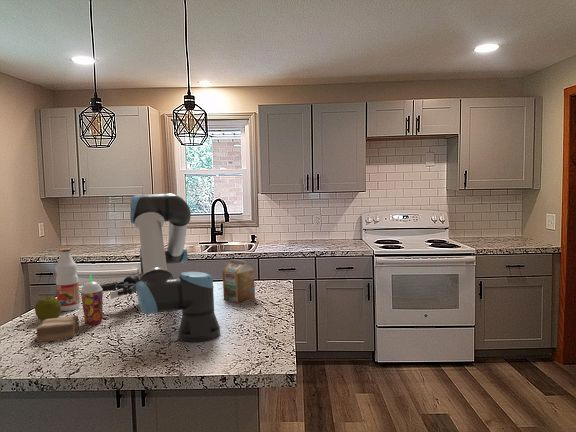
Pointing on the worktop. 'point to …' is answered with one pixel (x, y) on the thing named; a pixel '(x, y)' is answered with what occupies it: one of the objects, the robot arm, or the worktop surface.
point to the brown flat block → (57, 328)
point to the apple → (48, 308)
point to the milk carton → (238, 282)
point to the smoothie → (92, 302)
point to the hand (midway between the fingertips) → (98, 294)
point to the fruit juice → (67, 281)
